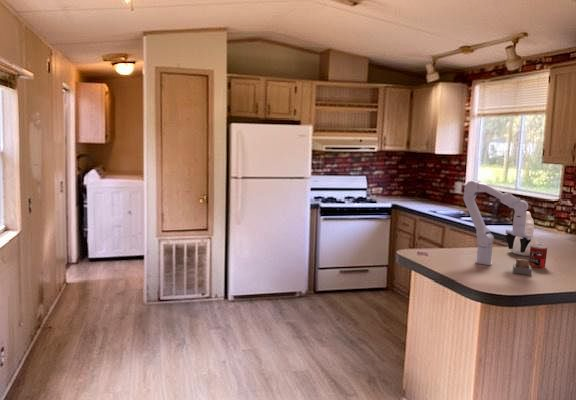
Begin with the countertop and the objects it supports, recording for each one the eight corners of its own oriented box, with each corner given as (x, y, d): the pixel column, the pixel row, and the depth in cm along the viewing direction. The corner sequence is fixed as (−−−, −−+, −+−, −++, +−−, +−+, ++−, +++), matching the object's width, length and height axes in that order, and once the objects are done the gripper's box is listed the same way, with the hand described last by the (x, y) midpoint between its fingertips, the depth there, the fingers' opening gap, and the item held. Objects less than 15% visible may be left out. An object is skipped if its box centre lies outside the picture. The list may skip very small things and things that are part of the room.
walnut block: (515, 270, 256) (516, 259, 256) (522, 270, 257) (524, 259, 256) (519, 272, 253) (521, 261, 252) (527, 273, 253) (528, 261, 252)
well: (512, 269, 260) (513, 263, 260) (529, 271, 257) (530, 265, 257) (513, 273, 253) (513, 267, 252) (530, 275, 250) (531, 269, 249)
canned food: (525, 265, 270) (527, 244, 269) (536, 264, 274) (538, 244, 272) (537, 269, 263) (539, 248, 262) (548, 267, 267) (550, 247, 265)
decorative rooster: (508, 249, 308) (512, 208, 304) (537, 253, 300) (542, 211, 297) (504, 257, 286) (509, 213, 282) (535, 262, 278) (540, 216, 275)
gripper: (502, 221, 264) (499, 247, 266) (525, 227, 251) (522, 254, 253) (512, 221, 267) (509, 247, 269) (535, 226, 254) (532, 253, 256)
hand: (516, 250), depth 261 cm, fingers open, 7 cm apart
